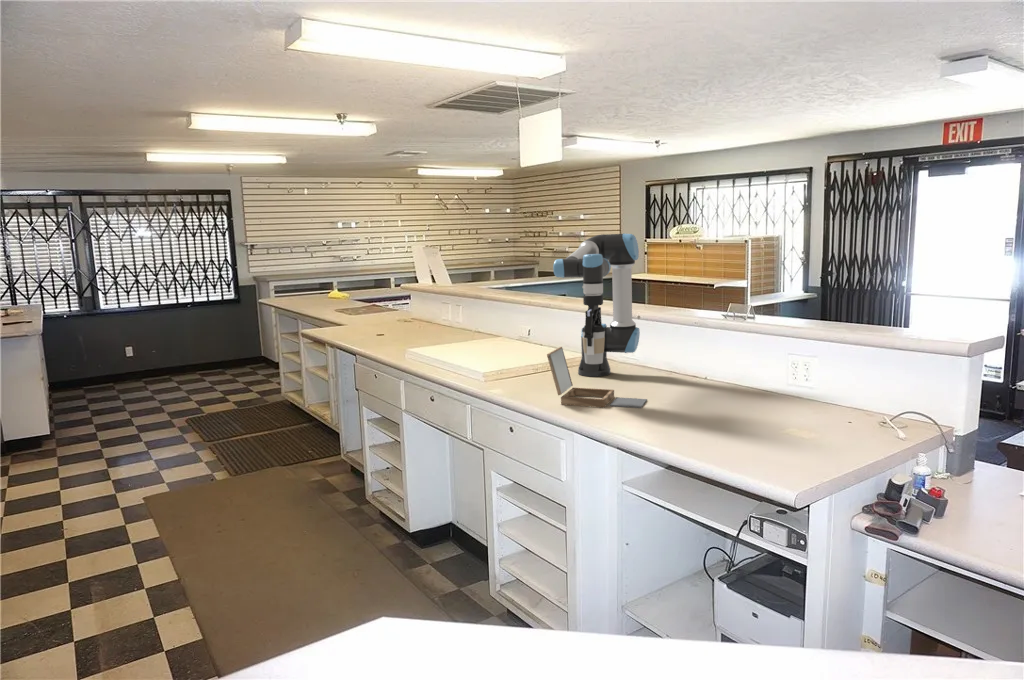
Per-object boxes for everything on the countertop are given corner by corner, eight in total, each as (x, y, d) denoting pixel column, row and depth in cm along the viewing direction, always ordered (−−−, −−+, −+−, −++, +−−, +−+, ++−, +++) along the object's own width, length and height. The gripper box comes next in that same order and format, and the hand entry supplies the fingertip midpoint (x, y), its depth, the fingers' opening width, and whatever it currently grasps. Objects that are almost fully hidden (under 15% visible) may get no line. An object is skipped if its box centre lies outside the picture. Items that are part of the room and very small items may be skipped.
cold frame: (573, 394, 272) (573, 387, 271) (614, 397, 266) (614, 389, 265) (561, 404, 256) (560, 397, 256) (604, 407, 250) (604, 399, 250)
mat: (616, 398, 263) (616, 397, 263) (646, 400, 258) (646, 399, 258) (609, 406, 252) (609, 404, 252) (641, 408, 247) (641, 406, 247)
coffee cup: (597, 365, 251) (597, 326, 249) (577, 363, 257) (577, 325, 255) (609, 361, 258) (609, 323, 256) (590, 359, 264) (589, 322, 262)
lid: (572, 385, 271) (570, 385, 272) (562, 346, 270) (559, 347, 271) (560, 394, 256) (558, 395, 256) (549, 353, 255) (546, 354, 255)
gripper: (591, 292, 265) (592, 347, 268) (575, 297, 245) (576, 357, 248) (609, 292, 262) (610, 348, 265) (595, 297, 242) (595, 357, 246)
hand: (593, 352), depth 257 cm, fingers closed on coffee cup, 9 cm apart
